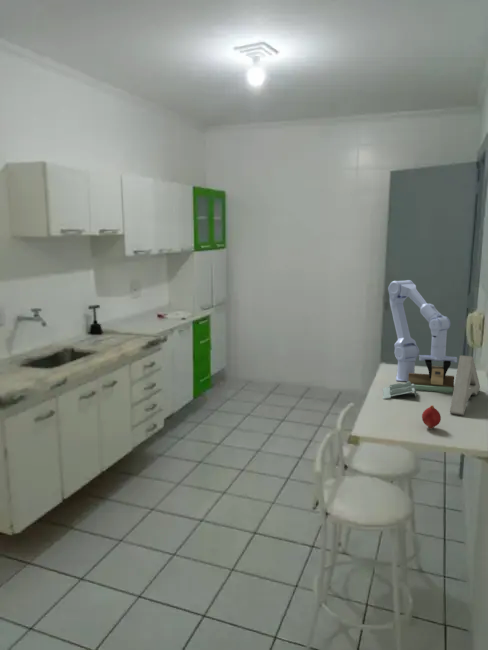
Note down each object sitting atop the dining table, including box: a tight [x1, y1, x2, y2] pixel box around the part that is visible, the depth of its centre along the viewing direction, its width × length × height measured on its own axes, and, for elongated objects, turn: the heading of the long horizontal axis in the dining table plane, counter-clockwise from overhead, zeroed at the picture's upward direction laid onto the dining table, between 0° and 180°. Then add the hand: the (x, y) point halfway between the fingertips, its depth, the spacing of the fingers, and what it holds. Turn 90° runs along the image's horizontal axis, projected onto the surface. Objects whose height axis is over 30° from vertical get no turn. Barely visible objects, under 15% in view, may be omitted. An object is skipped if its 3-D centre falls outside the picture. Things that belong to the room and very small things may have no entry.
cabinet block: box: [430, 365, 444, 385], centre depth 210 cm, size 6×4×6 cm
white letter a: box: [449, 354, 481, 416], centre depth 195 cm, size 22×4×30 cm
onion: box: [421, 405, 442, 429], centre depth 167 cm, size 6×6×8 cm
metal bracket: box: [381, 381, 419, 400], centre depth 204 cm, size 14×6×15 cm
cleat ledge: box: [414, 384, 454, 394], centre depth 212 cm, size 7×16×2 cm, turn 73°
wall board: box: [408, 372, 455, 389], centre depth 215 cm, size 2×18×5 cm, turn 73°
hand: (436, 378), depth 211 cm, fingers closed on cabinet block, 4 cm apart
